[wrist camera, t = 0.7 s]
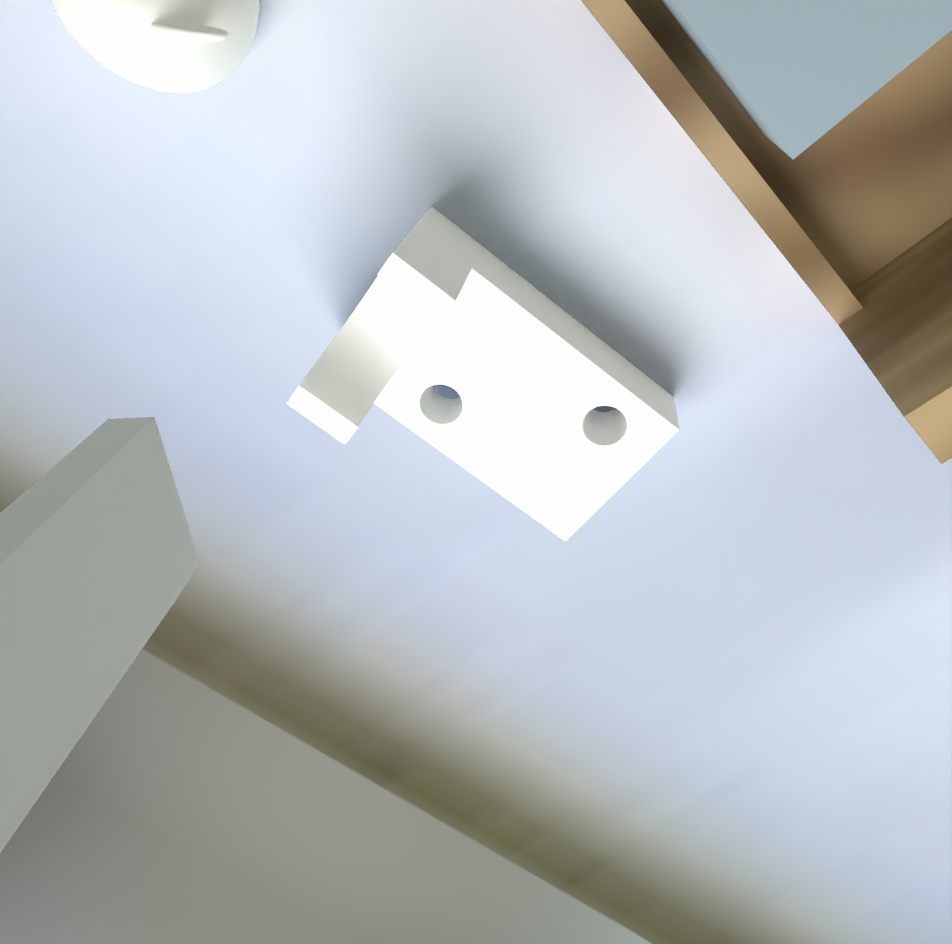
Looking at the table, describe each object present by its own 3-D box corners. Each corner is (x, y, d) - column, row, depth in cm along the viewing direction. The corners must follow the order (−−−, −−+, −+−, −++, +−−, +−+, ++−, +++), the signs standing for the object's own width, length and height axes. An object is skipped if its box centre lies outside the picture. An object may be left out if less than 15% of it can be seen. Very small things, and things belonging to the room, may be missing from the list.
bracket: (341, 333, 38) (286, 403, 32) (432, 204, 35) (392, 252, 28) (568, 500, 41) (561, 597, 34) (673, 394, 37) (687, 478, 31)
